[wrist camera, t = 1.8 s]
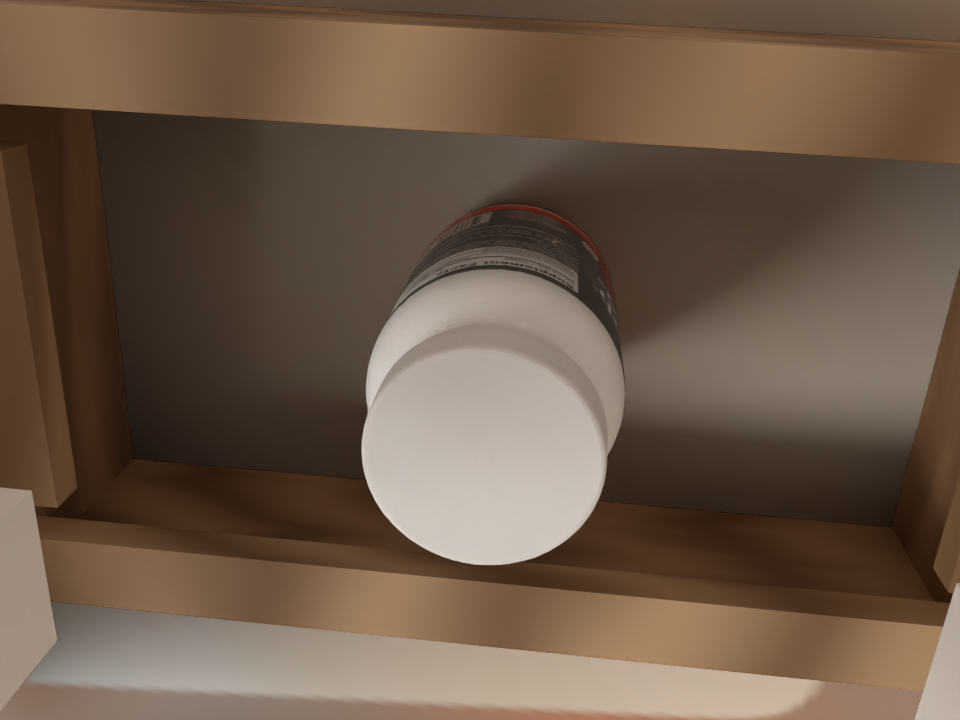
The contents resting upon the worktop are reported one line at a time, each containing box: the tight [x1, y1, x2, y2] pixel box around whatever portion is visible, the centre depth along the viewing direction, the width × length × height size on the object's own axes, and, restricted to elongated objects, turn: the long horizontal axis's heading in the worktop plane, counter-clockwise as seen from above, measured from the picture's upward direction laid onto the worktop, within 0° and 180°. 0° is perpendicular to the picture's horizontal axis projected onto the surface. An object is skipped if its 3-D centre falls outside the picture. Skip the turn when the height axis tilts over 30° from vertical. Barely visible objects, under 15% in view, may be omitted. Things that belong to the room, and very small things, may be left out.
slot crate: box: [0, 0, 960, 691], centre depth 23 cm, size 26×15×6 cm, turn 87°
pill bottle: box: [361, 204, 625, 565], centre depth 22 cm, size 6×6×10 cm
